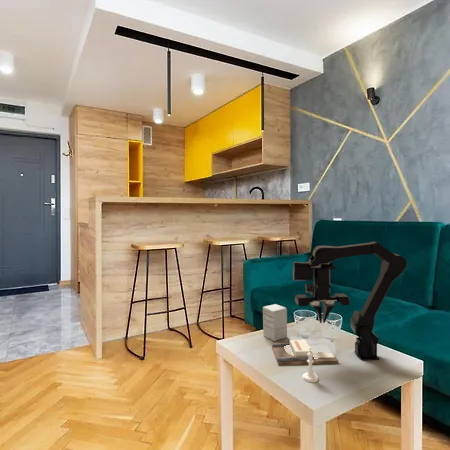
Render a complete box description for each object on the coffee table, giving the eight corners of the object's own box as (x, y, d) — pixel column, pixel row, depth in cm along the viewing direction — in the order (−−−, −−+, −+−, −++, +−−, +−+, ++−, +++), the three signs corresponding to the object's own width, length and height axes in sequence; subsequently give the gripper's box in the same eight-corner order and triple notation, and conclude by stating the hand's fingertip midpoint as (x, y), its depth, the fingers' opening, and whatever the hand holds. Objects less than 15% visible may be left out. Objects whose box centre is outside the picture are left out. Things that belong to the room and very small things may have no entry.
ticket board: (325, 346, 129) (325, 341, 129) (338, 363, 115) (338, 357, 115) (272, 347, 129) (271, 342, 128) (278, 365, 115) (278, 359, 115)
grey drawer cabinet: (276, 331, 145) (275, 303, 144) (287, 337, 138) (287, 307, 138) (262, 335, 141) (262, 306, 140) (273, 341, 135) (273, 311, 134)
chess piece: (318, 375, 107) (317, 345, 107) (318, 383, 103) (318, 351, 102) (302, 373, 108) (302, 343, 108) (302, 381, 104) (302, 350, 103)
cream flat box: (305, 345, 127) (305, 339, 127) (312, 357, 117) (312, 350, 117) (289, 346, 127) (289, 339, 126) (295, 358, 117) (295, 351, 116)
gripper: (339, 275, 128) (339, 314, 129) (291, 276, 128) (292, 316, 129) (350, 282, 117) (350, 325, 118) (298, 283, 117) (298, 326, 118)
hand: (322, 322), depth 121 cm, fingers closed
